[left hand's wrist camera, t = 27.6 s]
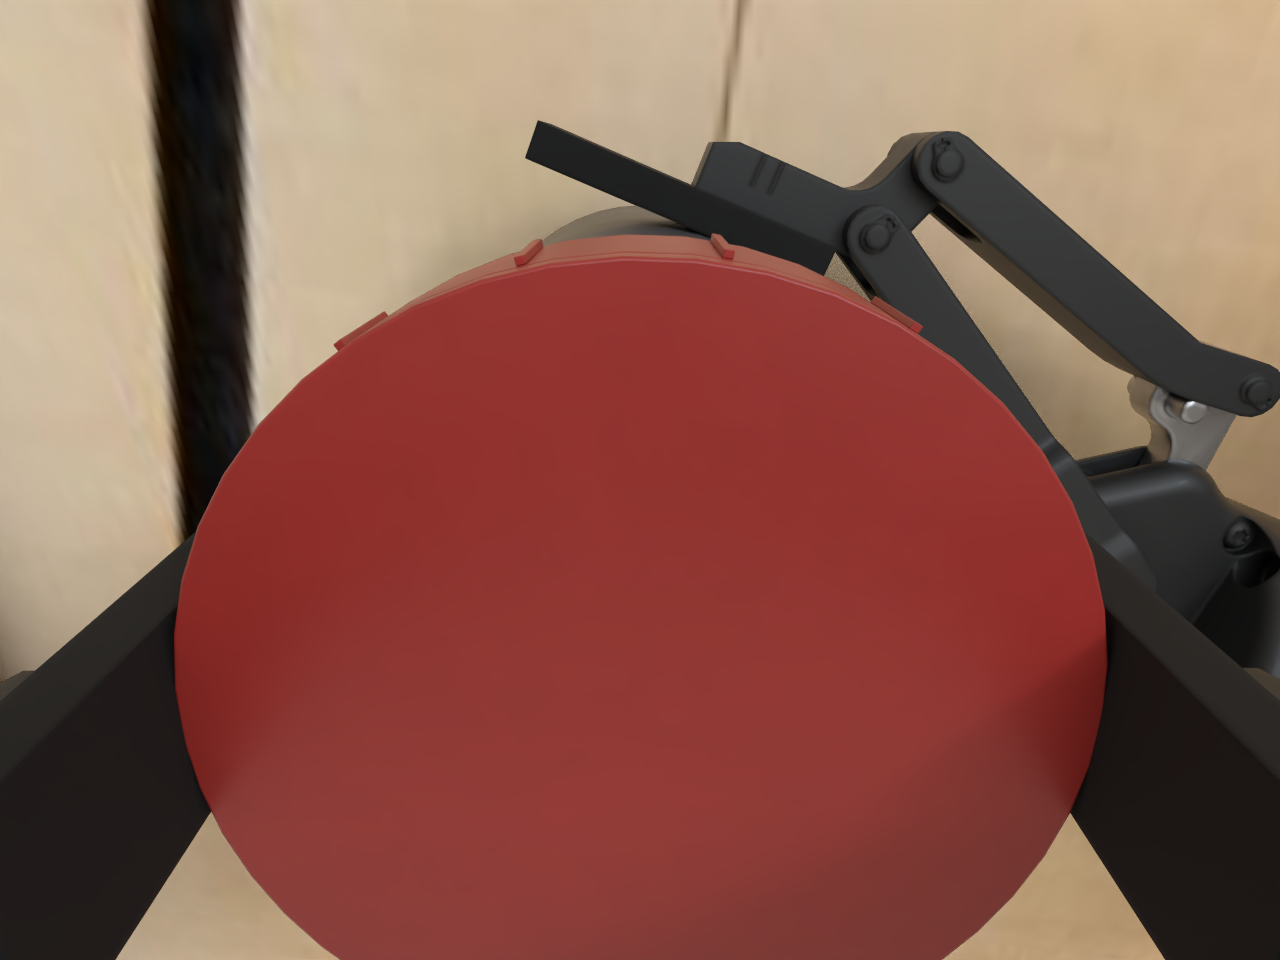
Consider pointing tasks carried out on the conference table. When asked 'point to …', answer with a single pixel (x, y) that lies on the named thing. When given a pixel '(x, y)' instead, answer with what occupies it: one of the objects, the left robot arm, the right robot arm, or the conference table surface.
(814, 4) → the conference table surface
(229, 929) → the conference table surface
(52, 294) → the conference table surface
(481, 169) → the conference table surface
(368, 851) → the lid
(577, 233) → the jar
